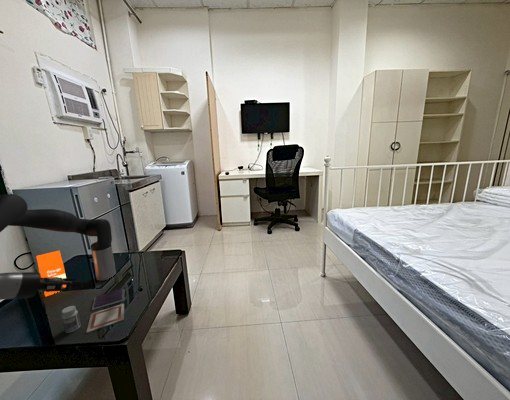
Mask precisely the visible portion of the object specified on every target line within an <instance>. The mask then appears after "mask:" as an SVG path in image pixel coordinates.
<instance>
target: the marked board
mask: <svg viewBox="0 0 510 400" xmlns="http://www.w3.org/2000/svg"><path fill="white" fill-rule="evenodd" d="M124 321H125V303H121V304H118V305H114V306H112V307H108V308H105V309H101V310H99V311H95V312H92V313H90V315H89V321H88V323H87V328H86V332H85V333H86V334H87V333H91V332H93V331H97V330H100V329H103V328H106V327H108V326H112V325H114V324H117V323H120V322H124Z"/></svg>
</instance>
